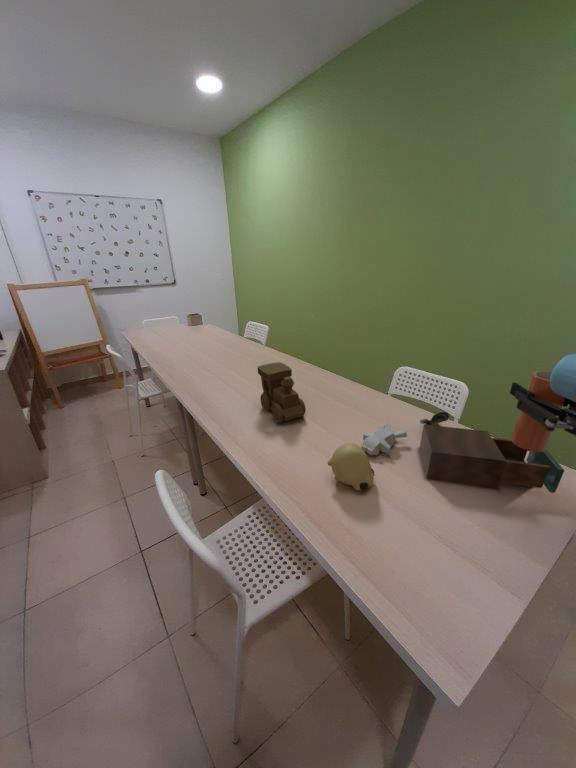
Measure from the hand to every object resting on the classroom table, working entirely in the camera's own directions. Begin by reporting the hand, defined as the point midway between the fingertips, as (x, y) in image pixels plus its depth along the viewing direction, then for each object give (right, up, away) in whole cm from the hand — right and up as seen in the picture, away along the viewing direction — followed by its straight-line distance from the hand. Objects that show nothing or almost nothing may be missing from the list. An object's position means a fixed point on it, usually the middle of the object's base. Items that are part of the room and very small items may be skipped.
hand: (529, 388), depth 70 cm
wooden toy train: (-59, -10, +44) cm, 74 cm away
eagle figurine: (-8, -15, +31) cm, 35 cm away
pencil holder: (0, -13, 0) cm, 13 cm away
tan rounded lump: (-40, -25, +9) cm, 48 cm away
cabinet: (-10, -22, +13) cm, 28 cm away
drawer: (+3, -22, +9) cm, 24 cm away
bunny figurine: (-27, -18, +23) cm, 40 cm away
